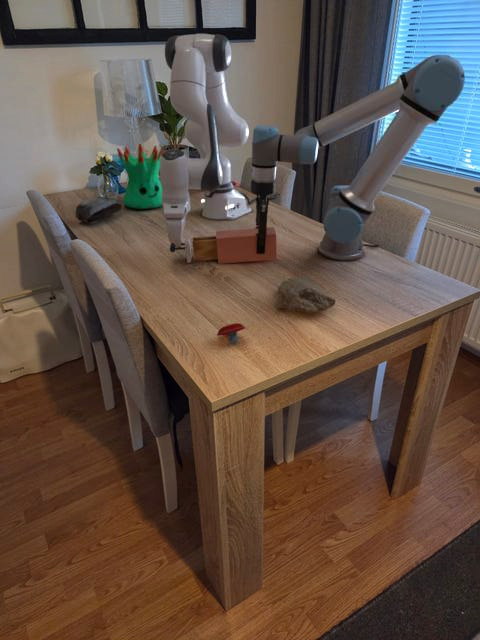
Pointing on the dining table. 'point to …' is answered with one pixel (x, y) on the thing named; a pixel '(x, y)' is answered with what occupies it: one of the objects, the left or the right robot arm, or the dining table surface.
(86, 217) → the rock
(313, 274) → the dining table surface
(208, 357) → the dining table surface
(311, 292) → the artifact
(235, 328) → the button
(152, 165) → the toy
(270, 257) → the cabinet
